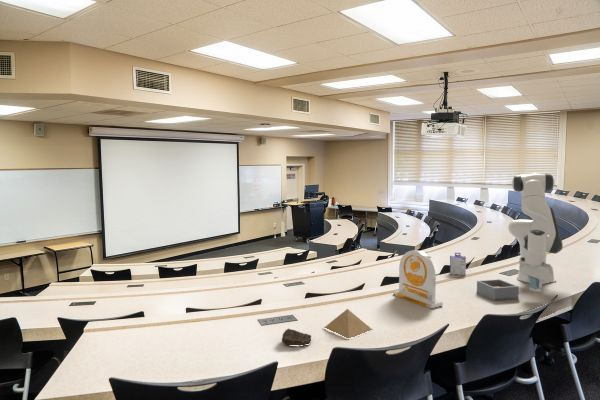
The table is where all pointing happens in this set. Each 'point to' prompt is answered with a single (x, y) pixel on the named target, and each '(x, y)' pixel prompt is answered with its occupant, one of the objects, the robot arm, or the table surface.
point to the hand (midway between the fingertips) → (535, 285)
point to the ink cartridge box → (458, 264)
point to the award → (417, 279)
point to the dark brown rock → (295, 338)
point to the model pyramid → (348, 325)
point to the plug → (534, 284)
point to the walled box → (497, 290)
